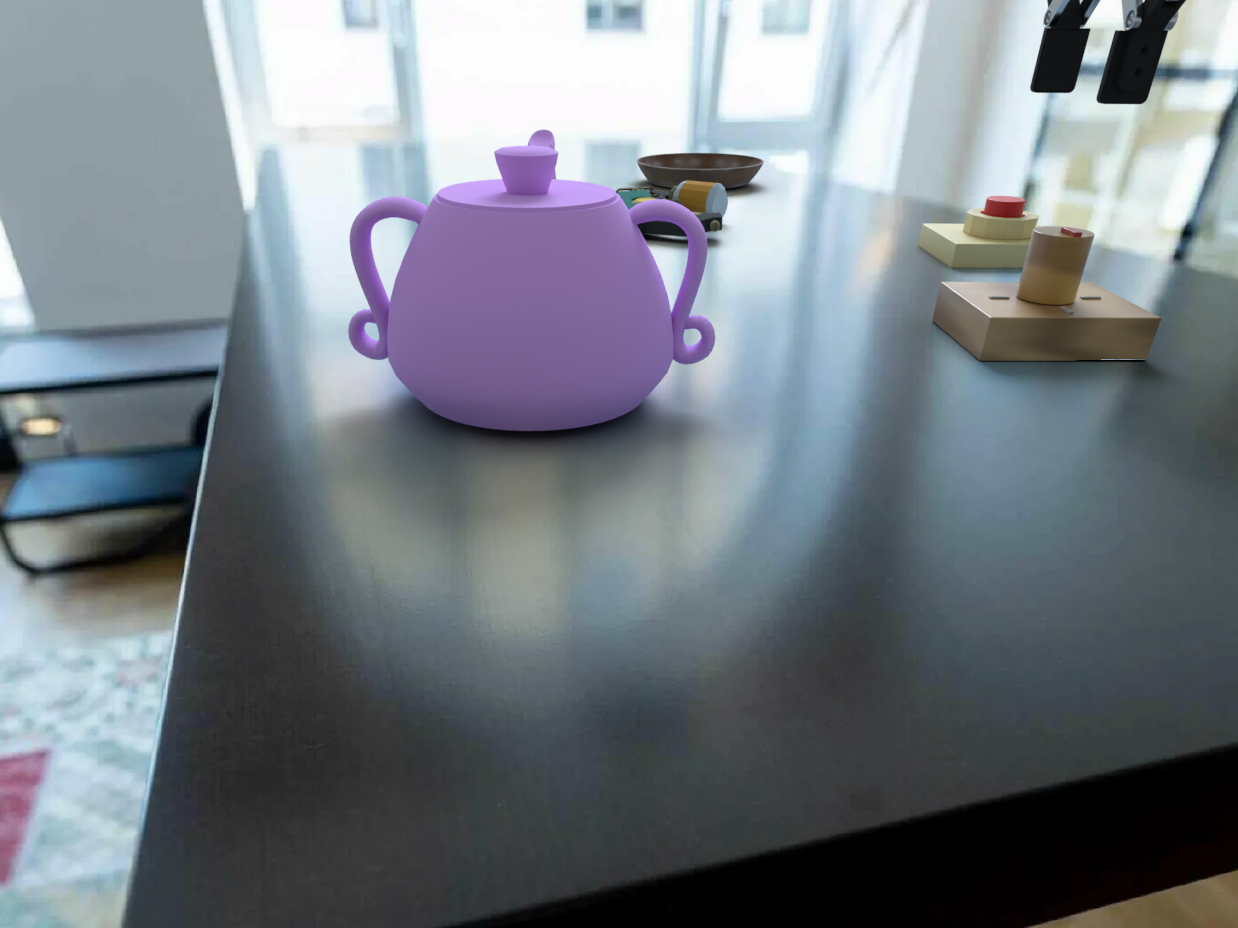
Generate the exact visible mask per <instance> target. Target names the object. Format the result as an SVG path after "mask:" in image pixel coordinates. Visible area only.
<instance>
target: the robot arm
mask: <svg viewBox="0 0 1238 928" xmlns="http://www.w3.org/2000/svg"><path fill="white" fill-rule="evenodd" d="M1186 1H1187V0H1121V10H1122V20H1123V21H1122V22H1123V29H1122V30H1121V29H1120V30H1118V29H1117V30H1114V34H1113V37H1112V40H1111V44H1110V47H1109V51H1108V55H1107V58H1106V62H1105V66H1104V69H1103V72H1102V76H1101V79H1100V82H1099V87H1098V89H1097V94H1096V102H1097V103H1098V104H1102V105H1143V104H1144V103H1146V102H1147V100H1148V98H1149V95H1150V92H1151V89H1152V85H1153V82H1154V79H1155V76H1156V73H1157V69H1158V66H1159V63H1160V59H1161V57H1162V53H1163V50H1164V47H1165V44H1166V41H1167V37H1168V34H1169V32H1170V31H1172V30H1173V29H1174V27H1175V25H1176V24H1177V22H1178V19H1179V10H1180V9H1181V8H1182V6H1183V5H1185V3H1186ZM1046 2H1047V3H1046V4H1047V10H1045V13H1044V16H1043V21H1042V25H1043V32H1042V38H1041V41H1040V45H1039V48H1038V53H1037V57H1036V61H1035V64H1034V69H1033V73H1032V77H1031V81H1030V86H1029V90H1030V91H1031V92H1032V93H1036V94H1070V93H1072V92H1073V91H1074V90H1075V89H1076V85H1077V81H1078V78H1079V74H1080V70H1081V67H1082V63H1083V59H1084V55H1085V52H1086V48H1087V44H1088V40H1089V37H1090V34H1091V33H1090V32H1091V28H1087V27H1086V28H1085V26H1086V24H1087V23H1088V21H1089V20H1090V18H1091V16H1092V15H1093V13H1094V11H1095V9H1096V8H1097V7H1098V5H1099V3H1100V2H1101V0H1081V1H1080V0H1046Z"/></svg>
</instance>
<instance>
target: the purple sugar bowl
mask: <svg viewBox="0 0 1238 928" xmlns="http://www.w3.org/2000/svg"><path fill="white" fill-rule="evenodd" d="M493 154H494V159H495V163H496V166H497V168H498V171H499V173H500V177H501V178H498V179H497V178H496V179H483V180H481V179H480V180H472V181H466V182H459V183H454V184H451V185H448V186H444V187H443V188H440V189H438V191H437V192H436V194H434V195H433V197H432V199H431V201H430V202H429V204H428V206H427V205H425V204H424V203H422V202H421V201H417V200H415V199H413V198H410V197H406V196H401V195H398V196H397V195H393V196H391V195H390V196H386V197H381V198H380V199H377V200H374V201H372V202H371V203H369V204H368V205H366V206H365V207H364V208H363V209H362V210H360V211H359V212H358V214H357V215H356V216H355V218H354V219H353V222H352V223H351V227H350V231H349V251H350V256H351V260H352V264H353V267H354V271H355V274H356V277H357V278H358V282H359V285H360V287H361V289H362V293H363V295H364V297H365V299H366V302H367V305H368V306H369V308H364V309H361V310H358V311H357V312H356V313H355V314H354V315H352V316H351V318H350V322H349V323H348V330H347V332H348V339H349V342H350V344H351V346H352V347H353V349H354V350H355V351H356V352H357V353H358V354H360V355H362V356H363V357H366V358H367V359H370V360H375V361H382V360H383V361H384V360H386V359H387V360H388V363H389V365H390V367H391V369H392V371H393V373H394V375H395V376H396V378H397V379H398V380H399V382H401V383H402V384H403V386H405V388H406V389H407V390H408V391H409V392H410V393H411V394H412V395H413V396H414V397H415V398H416V399H417V400H418V401H419V402H420V403H422V404H423V405H424V406H425V407H426V408H427V409H428V410H429V411H431V412H433V413H434V414H436V415H438V416H441V417H442V418H445V419H447V420H449V421H453V422H456V423H459V424H463V425H466V426H467V425H468V426H472V427H476V428H483V429H490V430H500V431H501V430H502V431H513V432H546V431H547V432H548V431H561V430H569V429H577V428H583V427H589V426H593V425H598V424H601V423H604V422H608V421H611V420H614V419H617V418H620V417H623V416H624V415H626V414H628V413H629V412H632V411H633V410H634V409H636V408H637V407H639V405H641V404H642V402H643V401H644V400H645V399H646V398H647V397H648V396H649V395H650V394H651V393H652V392H653V390H655V388H656V387H658V385H659V384H660V383H661V381H663V379H664V378H665V376H666V375H667V374H668V373H669V370H670V368H671V366H672V363H673V361H675V362H676V363H678V364H680V365H693V364H697V363H699V362H701V361H704V360H705V359H706V358H708V357H709V356H710V354H711V353H712V352H713V349H714V347H715V343H716V332H715V328H714V325H713V324H712V322H711V320H709V319H708V318H707V317H706V316H704V315H701V314H693V315H690V314H691V311H692V309H693V306H694V304H695V301H696V298H697V295H698V293H699V290H700V286H701V283H702V279H703V277H704V273H705V269H706V263H707V259H708V238H707V234H706V233H707V232H706V233H705V230H704V228H703V225H702V224H701V222H700V220H699V219H698V218H697V217H696V216H695V214H693V213H692V212H691V211H690V210H689V209H687V208H685V207H684V206H682V205H680V204H678V203H676V202H673V201H669V200H664V199H654V200H648V201H645V202H642V203H639V204H637V205H635V206H634V207H632V208H631V209H630V210H628V208H627V206H626V205H625V203H624V202H623V200H622V199H621V197H620V195H618V194H617V193H616V190H614V189H613V188H612V187H609V186H606V185H603V184H599V183H593V182H587V181H580V180H570V179H557V173H556V167H557V163H558V158H559V151H558V150H556V140H555V135H554V133H553V132H552V131H551V130H549V129H539V130H536V131H535V132H533V133H532V134H531V135H530V138H529V139H528V142H527V145H512V146H502V147H500V148H498V149H496V150H494V152H493ZM390 218H399V219H401V220H407V221H411V222H414V223H416V224H417V227H416V229H415V231H414V234H413V235H412V238H411V239H410V242H409V244H408V246H407V249H406V251H405V253H404V255H403V258H402V261H401V263H400V265H399V268H398V271H397V273H396V276H395V280H394V284H393V289H392V291H391V295H390V298H389V296H388V294H387V292H386V291H387V290H386V289H385V286H384V284H383V281H382V278H381V276H380V273H379V270H378V267H377V264H376V261H375V257H374V253H373V247H372V231H373V228H374V226H375V225H376V224H377V223H378V222H380V221H382V220H385V219H390ZM655 220H662V221H668V222H672V223H674V224H676V225H678V226H680V227H681V228H682V229H683V230H684V231H685V233H686V235H687V237H686V238H687V245H688V247H687V248H688V250H687V251H688V252H687V259H686V264H685V269H684V274H683V278H682V281H681V284H680V287H679V290H678V293H677V296H676V298H675V301H674V303H673V306H672V309H671V305H670V299H669V296H668V292H667V289H666V286H665V282H664V278H663V276H662V274H661V271H660V269H659V266H658V264H657V262H656V259H655V256H654V254H653V252H652V251H651V249H650V247H649V245H648V243H647V241H646V239H645V237H644V234H643V235H642V233H641V231H640V230H639V228H638V226H637V225H638V224H640V223H644V222H649V221H655ZM367 323H370V324H374V325H376V327H377V331H378V340H377V339H374V338H372V337H370V335H369V334H368V333H367V332H366V324H367ZM693 329H694V330H697V331H699V333H700V339H699V341H698V342H695V344H690V345H688V344H686V343H685V340H684V337H685V336H684V334H685V330H693Z"/></svg>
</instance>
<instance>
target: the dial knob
mask: <svg viewBox="0 0 1238 928" xmlns="http://www.w3.org/2000/svg"><path fill="white" fill-rule="evenodd" d="M1095 236H1096V235H1095V233H1094V232H1093V231H1090V230H1088V229H1085V228H1079V227H1071V226H1061V225H1043V226H1040V227H1036V228H1034V229H1033V232H1032V236H1031V239H1030V243H1029V247H1028V251H1027V255H1026V258H1025V262H1024V266H1023V268H1022V269H1021V273H1020V278H1019V281H1018V282H1019V285H1018V289H1017V292H1016V296H1017V297H1018V298H1020V299H1022V300H1025V301H1029V302H1033V303H1039V304H1047V305H1066V304H1071V303H1073V302H1074V301H1075V299H1076V295H1077V292H1078V289H1079V285H1080V282H1082V278H1083V275H1084V272H1085V269H1086V265H1087V262H1088V258H1089V255H1090V251H1091V248H1092V245H1093V242H1094V239H1095Z"/></svg>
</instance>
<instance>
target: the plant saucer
mask: <svg viewBox="0 0 1238 928" xmlns="http://www.w3.org/2000/svg"><path fill="white" fill-rule="evenodd" d="M764 162H765V161H764V160H763V159H762V158H759V157H756V156H752V155H751V156H750V155H744V154H737V153H736V154H734V153H722V152H721V153H719V152H718V153H717V152H676V153H675V152H674V153H661V154H651V155H646V156H641V157H640V158H638V159H636V163H637V166H638V168H639V170H640V171H641V173H642V175H643V176H644V177H645V179H646V180H647V181H648V182H649V183H650V184H652V185H654V186H658V187H661V186H662V187H661V188H666V187H667V188H666V189H672V188H673V187H674V186H678V185H679V184H680V183H682V182H684V181H700V182H711V183H720V184H722V185H723V186H724V188H725V190H726V189H735V188H739V187H743V186H745V185H747V184H749V183H750V182H751V181H753V179H754V178H755V176H756V175H757V174H758V173H759V171H760V170H761V168H762V167H763V165H764V164H765V163H764Z"/></svg>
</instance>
